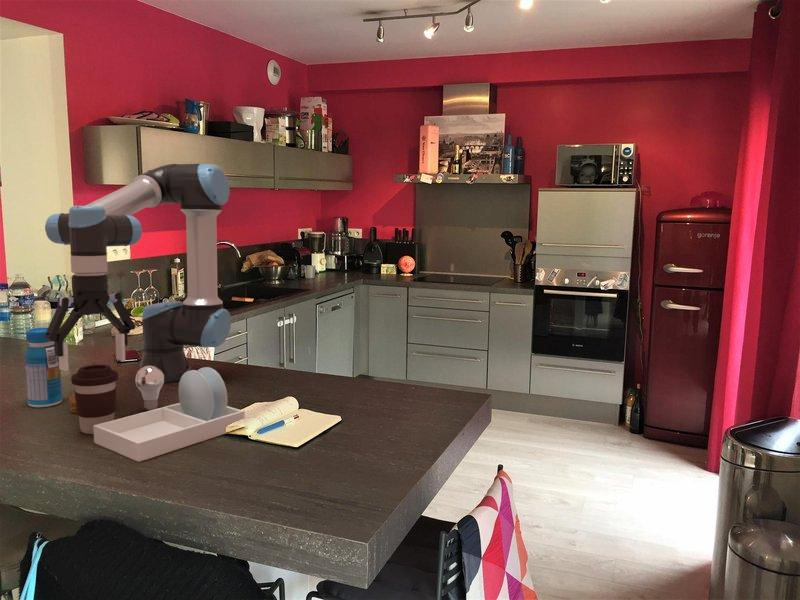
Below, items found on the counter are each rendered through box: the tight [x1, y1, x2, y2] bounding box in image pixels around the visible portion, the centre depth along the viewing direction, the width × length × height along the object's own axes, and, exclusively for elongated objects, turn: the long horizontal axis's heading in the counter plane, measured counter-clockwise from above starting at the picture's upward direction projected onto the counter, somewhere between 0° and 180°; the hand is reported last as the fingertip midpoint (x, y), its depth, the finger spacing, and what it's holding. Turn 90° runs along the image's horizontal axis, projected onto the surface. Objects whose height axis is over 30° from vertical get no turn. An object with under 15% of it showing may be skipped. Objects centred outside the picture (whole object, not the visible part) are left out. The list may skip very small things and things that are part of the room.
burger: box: [68, 392, 77, 414], centre depth 170 cm, size 10×9×5 cm
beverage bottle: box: [23, 326, 63, 408], centre depth 173 cm, size 8×8×20 cm
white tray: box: [93, 402, 246, 463], centre depth 152 cm, size 28×18×4 cm, turn 143°
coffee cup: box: [70, 364, 119, 435], centre depth 154 cm, size 10×10×15 cm
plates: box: [177, 366, 228, 421], centre depth 158 cm, size 4×13×13 cm, turn 53°
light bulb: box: [134, 365, 165, 411], centre depth 168 cm, size 7×7×12 cm
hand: (93, 365), depth 152 cm, fingers open, 13 cm apart
